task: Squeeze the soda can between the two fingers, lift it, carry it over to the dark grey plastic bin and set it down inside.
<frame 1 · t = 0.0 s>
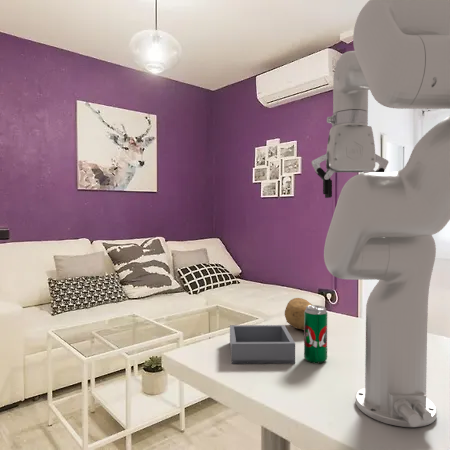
hand: (349, 197, 89), 37 cm above the table, tool pointing down, fingers open, 9 cm apart
soda can: (315, 360, 88), on the table
potato: (301, 329, 112), on the table
bin: (260, 352, 93), on the table
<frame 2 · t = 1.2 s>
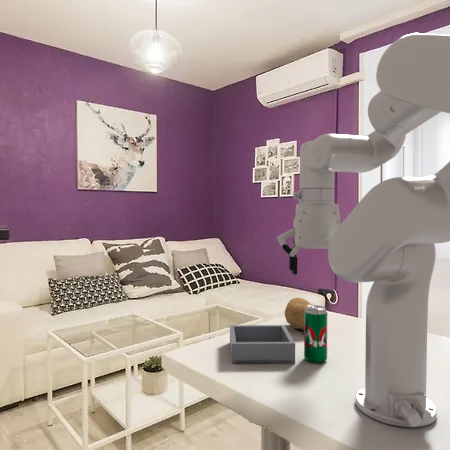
hand: (315, 273, 88), 20 cm above the table, tool pointing down, fingers open, 9 cm apart
nothing on the table moved.
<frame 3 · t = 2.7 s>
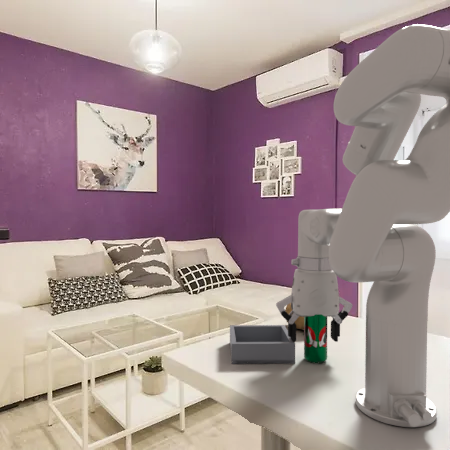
hand: (313, 339, 89), 4 cm above the table, tool pointing down, fingers open, 9 cm apart
nothing on the table moved.
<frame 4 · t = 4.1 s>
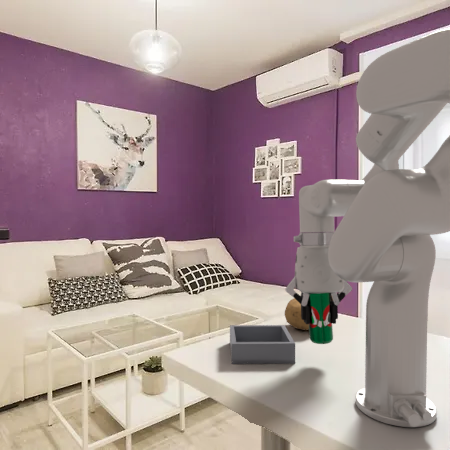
hand: (319, 321, 87), 9 cm above the table, tool pointing down, fingers closed on soda can, 5 cm apart
soda can: (321, 342, 86), point 5 cm above the table, touching gripper
everything else where it was.
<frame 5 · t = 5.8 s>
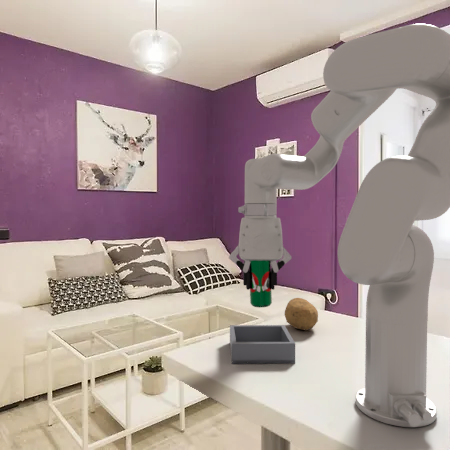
hand: (260, 287, 93), 16 cm above the table, tool pointing down, fingers closed on soda can, 5 cm apart
soda can: (261, 306, 93), point 11 cm above the table, touching gripper
everything else where it was.
when the fingers open (6 cm above the table, at t = 7.5 s): soda can stays where it is, resting on bin.
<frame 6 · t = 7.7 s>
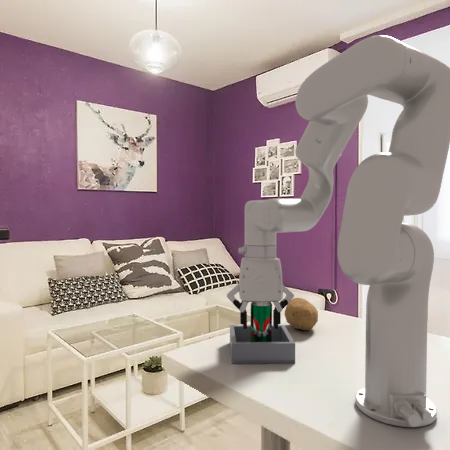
hand: (260, 326, 93), 6 cm above the table, tool pointing down, fingers open, 6 cm apart
soda can: (260, 350, 93), point 1 cm above the table, touching bin
everything else where it was.
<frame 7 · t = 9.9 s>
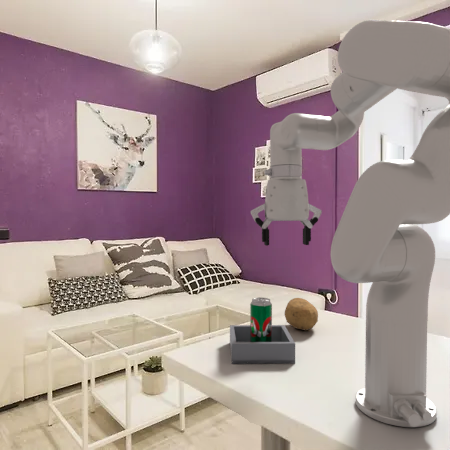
hand: (286, 244, 95), 25 cm above the table, tool pointing down, fingers open, 9 cm apart
nothing on the table moved.
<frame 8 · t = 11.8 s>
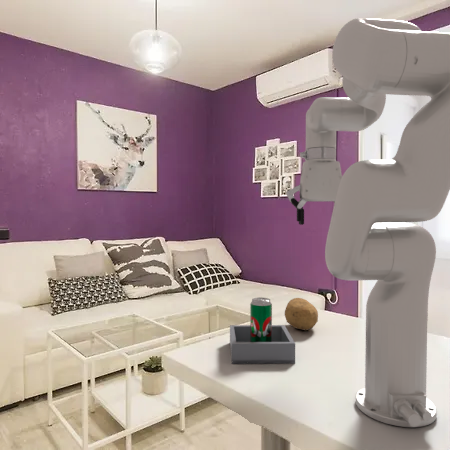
hand: (320, 224, 99), 30 cm above the table, tool pointing down, fingers open, 9 cm apart
nothing on the table moved.
at the end: soda can inside the target area on the bin (0.4 cm from its centre), point 0.6 cm above the bin's base; soda can tilted 0°; the gripper is holding nothing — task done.
